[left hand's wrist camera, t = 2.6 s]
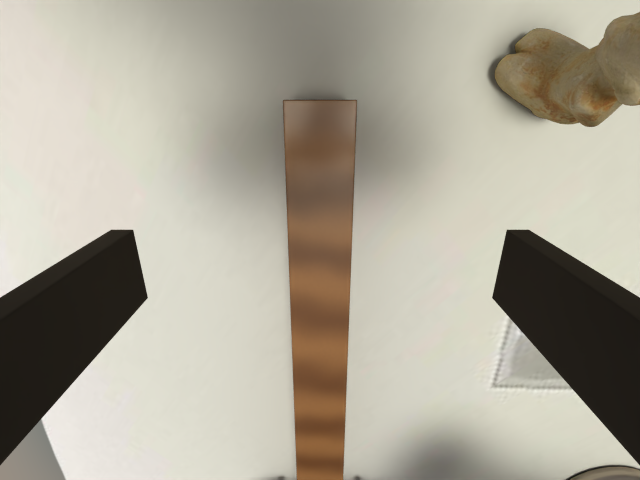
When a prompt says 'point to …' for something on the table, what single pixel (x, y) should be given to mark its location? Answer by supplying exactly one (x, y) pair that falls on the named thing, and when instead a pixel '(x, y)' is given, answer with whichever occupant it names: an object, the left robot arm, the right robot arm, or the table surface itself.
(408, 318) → the table surface
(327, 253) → the post
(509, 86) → the sculpture
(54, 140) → the table surface
